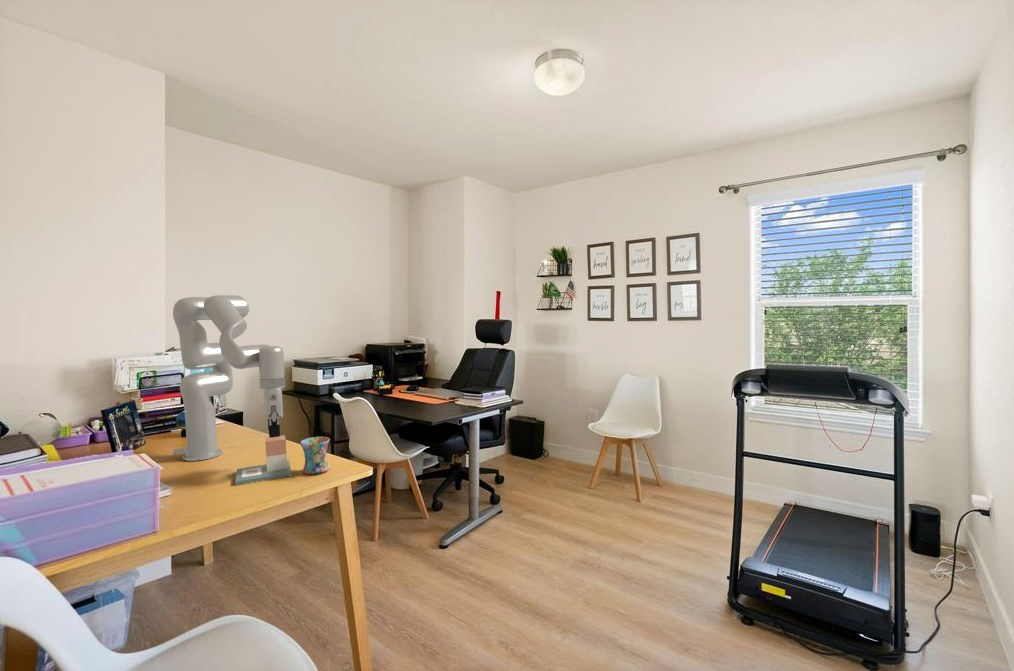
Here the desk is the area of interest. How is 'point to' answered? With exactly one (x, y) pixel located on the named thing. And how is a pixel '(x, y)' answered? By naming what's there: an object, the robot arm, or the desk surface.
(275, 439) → the terracotta brick
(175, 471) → the desk surface
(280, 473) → the baseplate
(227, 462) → the desk surface
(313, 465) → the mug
